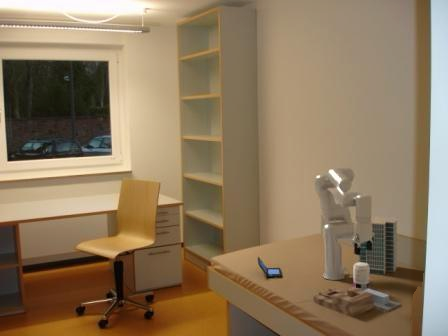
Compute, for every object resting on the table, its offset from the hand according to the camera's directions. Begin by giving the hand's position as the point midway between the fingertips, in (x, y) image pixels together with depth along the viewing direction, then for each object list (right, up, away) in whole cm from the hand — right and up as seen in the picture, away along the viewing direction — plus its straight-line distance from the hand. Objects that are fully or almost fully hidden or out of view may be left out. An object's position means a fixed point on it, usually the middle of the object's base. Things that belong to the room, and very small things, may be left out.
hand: (363, 252), depth 241 cm
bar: (+6, -24, -2) cm, 25 cm away
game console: (-42, -22, +47) cm, 67 cm away
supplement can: (+3, -23, +13) cm, 27 cm away
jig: (-11, -26, -3) cm, 28 cm away
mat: (+7, -25, -3) cm, 26 cm away
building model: (+22, -19, +47) cm, 55 cm away
